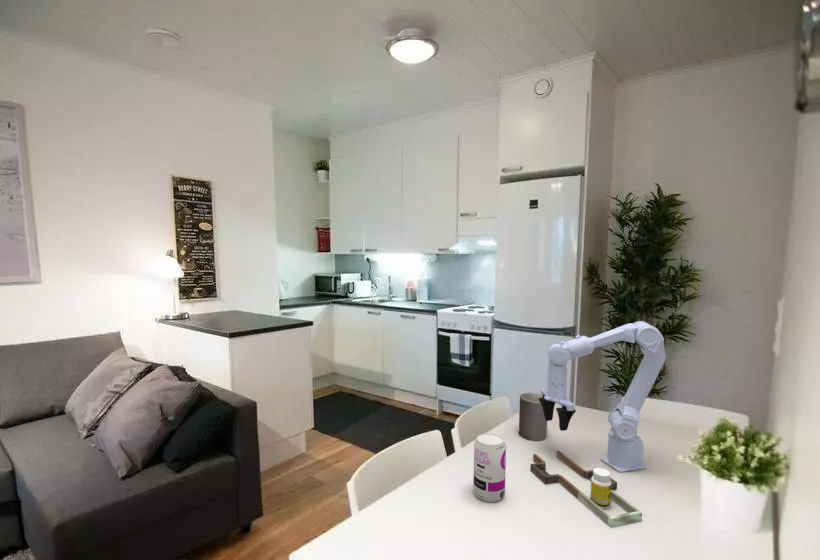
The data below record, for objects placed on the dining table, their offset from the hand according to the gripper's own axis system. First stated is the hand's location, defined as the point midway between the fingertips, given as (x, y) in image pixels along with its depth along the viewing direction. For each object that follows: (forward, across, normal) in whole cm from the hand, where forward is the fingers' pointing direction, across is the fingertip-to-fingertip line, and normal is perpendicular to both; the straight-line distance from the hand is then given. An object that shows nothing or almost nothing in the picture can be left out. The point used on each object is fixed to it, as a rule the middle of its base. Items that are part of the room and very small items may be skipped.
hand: (555, 425), depth 129 cm
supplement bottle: (+10, +25, -4) cm, 27 cm away
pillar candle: (+10, -15, +1) cm, 18 cm away
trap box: (+10, +17, -4) cm, 20 cm away
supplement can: (+10, +14, -30) cm, 35 cm away
